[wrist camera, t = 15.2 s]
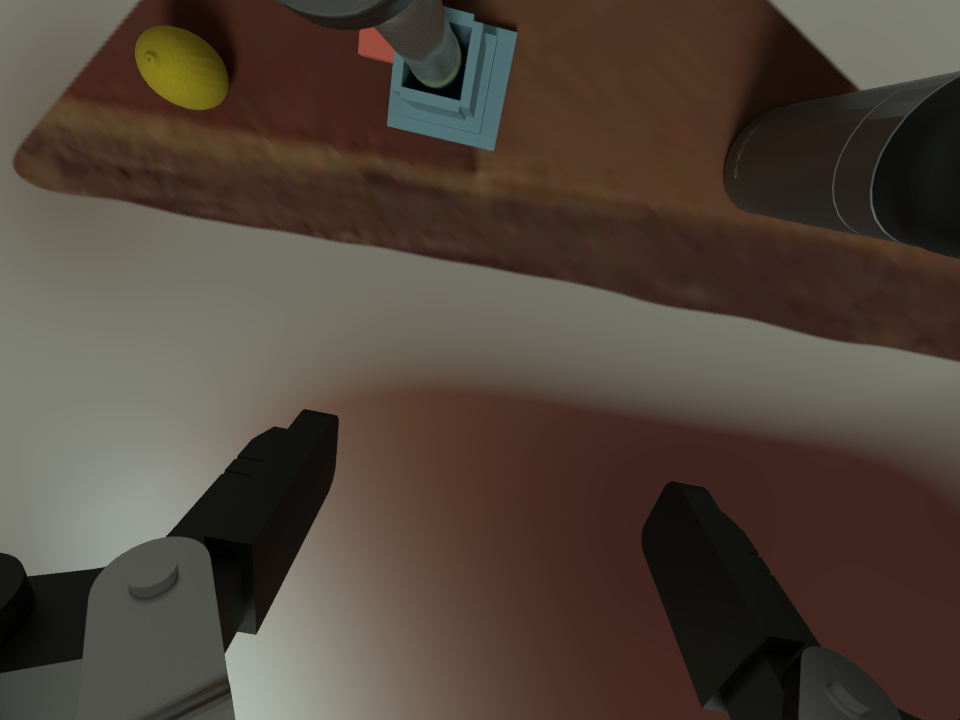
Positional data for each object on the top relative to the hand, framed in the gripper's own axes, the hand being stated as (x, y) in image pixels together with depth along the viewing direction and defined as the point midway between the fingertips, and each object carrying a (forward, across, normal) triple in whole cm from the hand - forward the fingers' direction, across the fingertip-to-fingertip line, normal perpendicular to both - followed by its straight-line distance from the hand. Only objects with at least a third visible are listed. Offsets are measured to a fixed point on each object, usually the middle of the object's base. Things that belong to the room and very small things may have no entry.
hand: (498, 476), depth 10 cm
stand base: (+36, +7, -12) cm, 39 cm away
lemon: (+36, +28, -8) cm, 47 cm away
